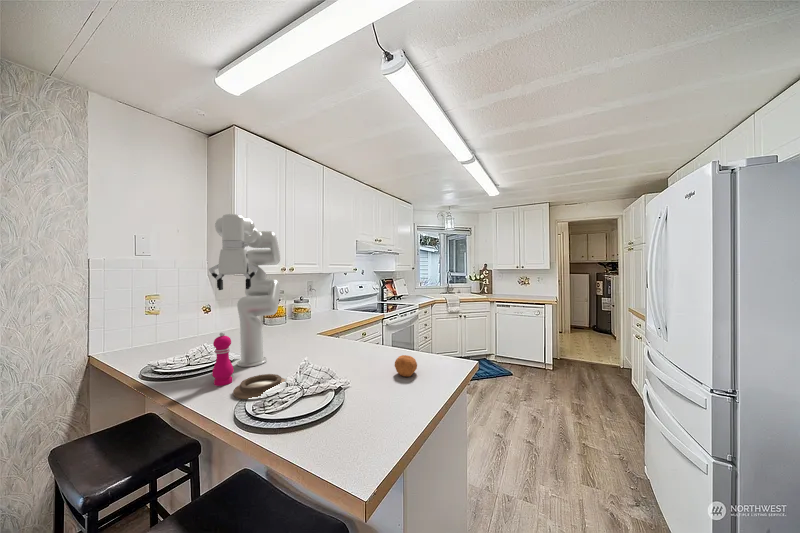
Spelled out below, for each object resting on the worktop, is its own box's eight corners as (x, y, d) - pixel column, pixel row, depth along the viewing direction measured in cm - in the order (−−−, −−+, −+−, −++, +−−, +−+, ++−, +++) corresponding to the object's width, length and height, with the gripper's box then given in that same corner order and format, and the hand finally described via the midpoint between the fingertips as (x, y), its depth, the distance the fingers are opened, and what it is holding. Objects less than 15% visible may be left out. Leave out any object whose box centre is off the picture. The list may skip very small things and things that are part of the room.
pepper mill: (224, 387, 113) (222, 334, 113) (207, 386, 115) (206, 333, 115) (238, 380, 120) (236, 330, 120) (222, 379, 122) (221, 329, 122)
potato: (390, 377, 120) (389, 358, 120) (400, 368, 130) (400, 350, 130) (412, 380, 116) (411, 360, 116) (420, 370, 127) (420, 352, 127)
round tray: (241, 382, 117) (241, 374, 117) (290, 377, 121) (290, 370, 121) (226, 403, 100) (225, 393, 100) (283, 396, 104) (283, 387, 104)
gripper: (259, 246, 124) (260, 288, 124) (212, 246, 120) (213, 289, 120) (255, 245, 117) (256, 289, 117) (205, 245, 113) (206, 291, 113)
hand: (234, 289), depth 119 cm, fingers open, 9 cm apart
